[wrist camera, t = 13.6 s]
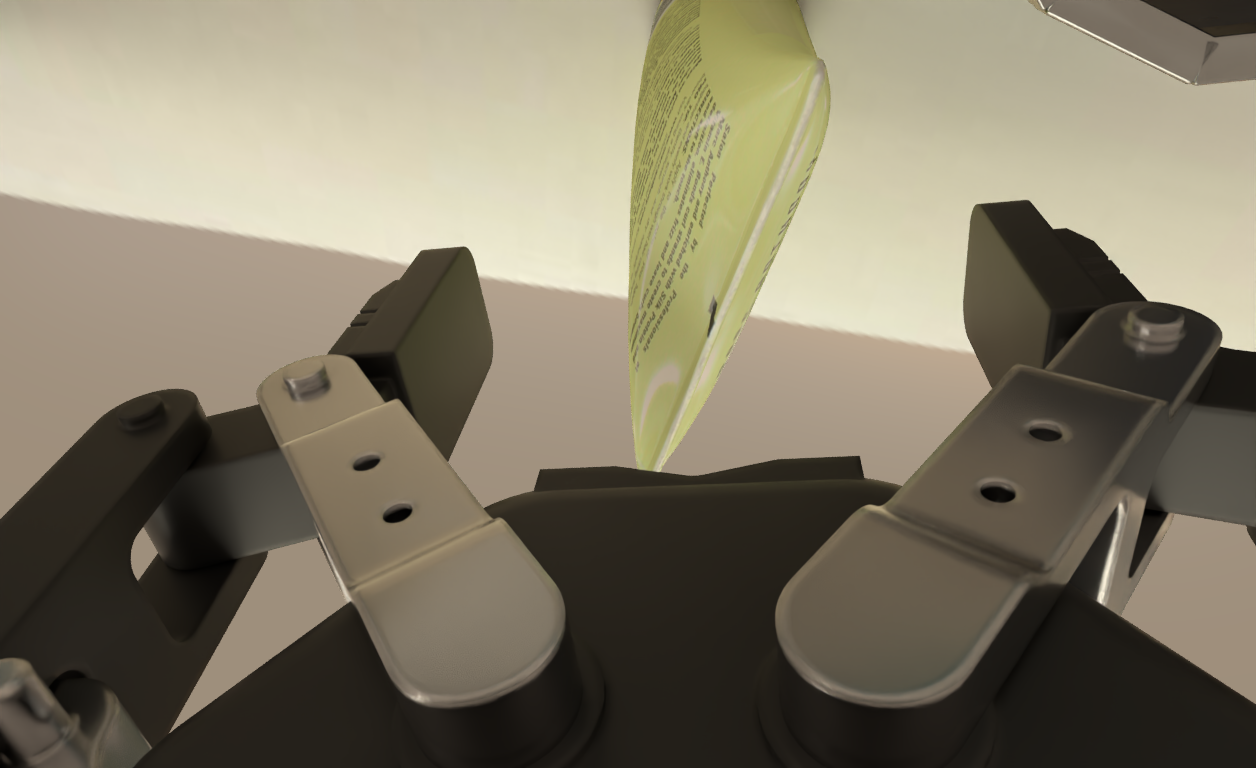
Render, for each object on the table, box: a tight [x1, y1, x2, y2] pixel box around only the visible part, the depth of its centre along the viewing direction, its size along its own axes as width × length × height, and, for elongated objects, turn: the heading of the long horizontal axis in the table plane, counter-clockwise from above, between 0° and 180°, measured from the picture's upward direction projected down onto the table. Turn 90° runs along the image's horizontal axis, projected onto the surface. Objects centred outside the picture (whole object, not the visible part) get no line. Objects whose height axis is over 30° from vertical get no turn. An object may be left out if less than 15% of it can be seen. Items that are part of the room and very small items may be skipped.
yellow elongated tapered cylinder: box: [628, 0, 830, 472], centre depth 20 cm, size 6×5×20 cm
